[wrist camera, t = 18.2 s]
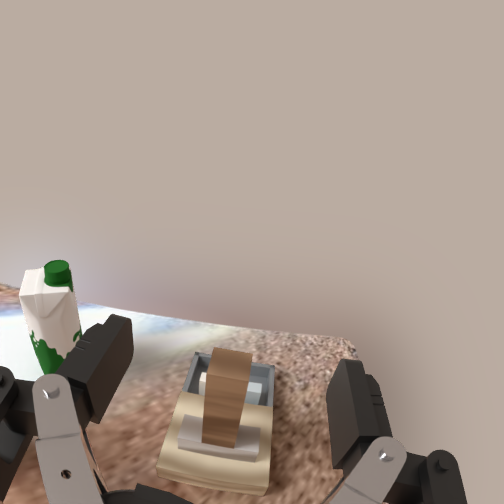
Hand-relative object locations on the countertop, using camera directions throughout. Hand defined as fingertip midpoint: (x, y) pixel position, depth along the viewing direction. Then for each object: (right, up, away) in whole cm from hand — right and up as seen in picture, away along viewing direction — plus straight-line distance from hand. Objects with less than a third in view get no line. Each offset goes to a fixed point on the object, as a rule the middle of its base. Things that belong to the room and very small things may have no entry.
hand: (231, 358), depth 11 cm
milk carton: (-32, -16, +35) cm, 50 cm away
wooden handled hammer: (-4, -21, +25) cm, 33 cm away
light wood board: (-4, -24, +28) cm, 37 cm away
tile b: (0, -19, +34) cm, 39 cm away
